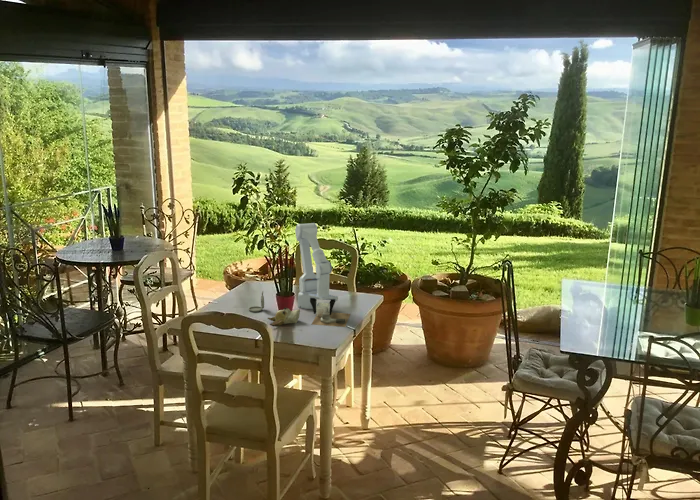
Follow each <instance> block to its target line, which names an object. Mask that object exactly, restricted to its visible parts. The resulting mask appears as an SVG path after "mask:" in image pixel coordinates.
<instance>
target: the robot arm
mask: <svg viewBox="0 0 700 500" xmlns="http://www.w3.org/2000/svg"><path fill="white" fill-rule="evenodd" d="M294 230H295V238H296V242H298V243H299V249H300V251H299V252H300V256H301V264H302V271H303V272H302V273H303V274H302V275H301V276H300V277H299V279H298V282H299V283H298V287H299V292H298V293H297V294H298V295H297V308H298V309H307V310H313V314H314V315H315V314H316V306H317V304H318V303H317V302H318V301H317V300H324V301H325V300H326V301H329V312H330V315H331V314H332V312H333V309H334V306H335V304H336V302H338V301H339V295H334V294H333V295H332V294H330V275H331V274H332V272H333V266H332V263H331V262H330V261H329V260H327V256H326V255H325V252H324V250H323V249H322V248H321V246H320V243H319V241H318V226H317V224H316V223H315V222H311V223H309V222H308V223H298V224H296V226H295V228H294ZM311 250H312V253H311ZM312 258H313V260H312ZM313 261H314V264H315V272H314V267H313Z"/></svg>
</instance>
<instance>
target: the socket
mask: <svg viewBox="0 0 700 500" xmlns="http://www.w3.org/2000/svg"><path fill="white" fill-rule="evenodd" d="M323 312H330V302H328V303H327V302H318V303H317V306H316V315H315V317H322V314H323Z"/></svg>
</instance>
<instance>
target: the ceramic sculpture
mask: <svg viewBox="0 0 700 500" xmlns="http://www.w3.org/2000/svg"><path fill="white" fill-rule="evenodd" d="M300 312H301V308H298V309H294V310H290V308H288V307H284V308H283V309H280V310H277V312H276V313H275V315H274V316H273V317H267V320H269V321H272V323H270V324H269V325H270V326H272V327H278V326H282V325H286V324H297V323H298V321H299V319H300V315H301V313H300Z"/></svg>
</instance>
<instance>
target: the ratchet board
mask: <svg viewBox="0 0 700 500" xmlns="http://www.w3.org/2000/svg"><path fill="white" fill-rule="evenodd" d="M350 316H351V313H345V312H333V311H332V314H331V315H330V311H329V312H323V314H322V317H316V316H315V317H314V318H313V321H312V322H311V325H312V326H313V325H314V326H324V327H325V326H328V327H339V328H340V327H341V328H346V326H347V324H348V321H349V320H350V319H349V318H350Z"/></svg>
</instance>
